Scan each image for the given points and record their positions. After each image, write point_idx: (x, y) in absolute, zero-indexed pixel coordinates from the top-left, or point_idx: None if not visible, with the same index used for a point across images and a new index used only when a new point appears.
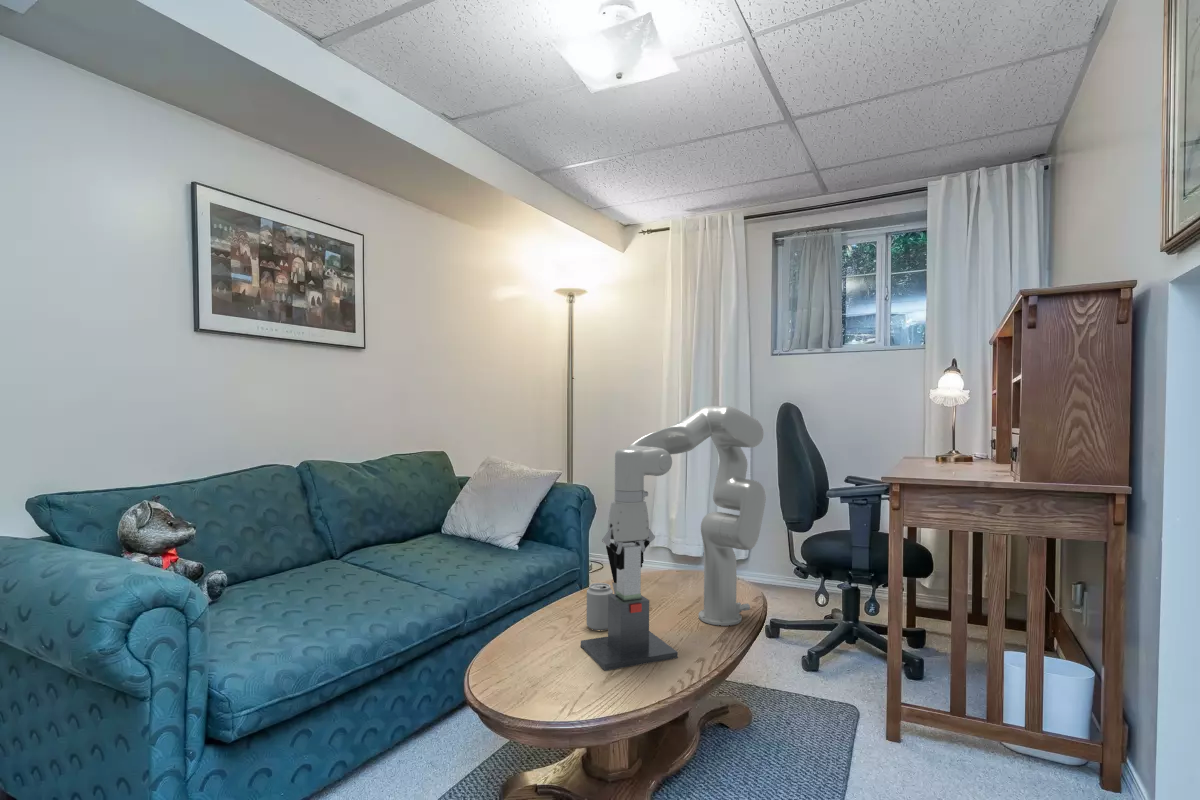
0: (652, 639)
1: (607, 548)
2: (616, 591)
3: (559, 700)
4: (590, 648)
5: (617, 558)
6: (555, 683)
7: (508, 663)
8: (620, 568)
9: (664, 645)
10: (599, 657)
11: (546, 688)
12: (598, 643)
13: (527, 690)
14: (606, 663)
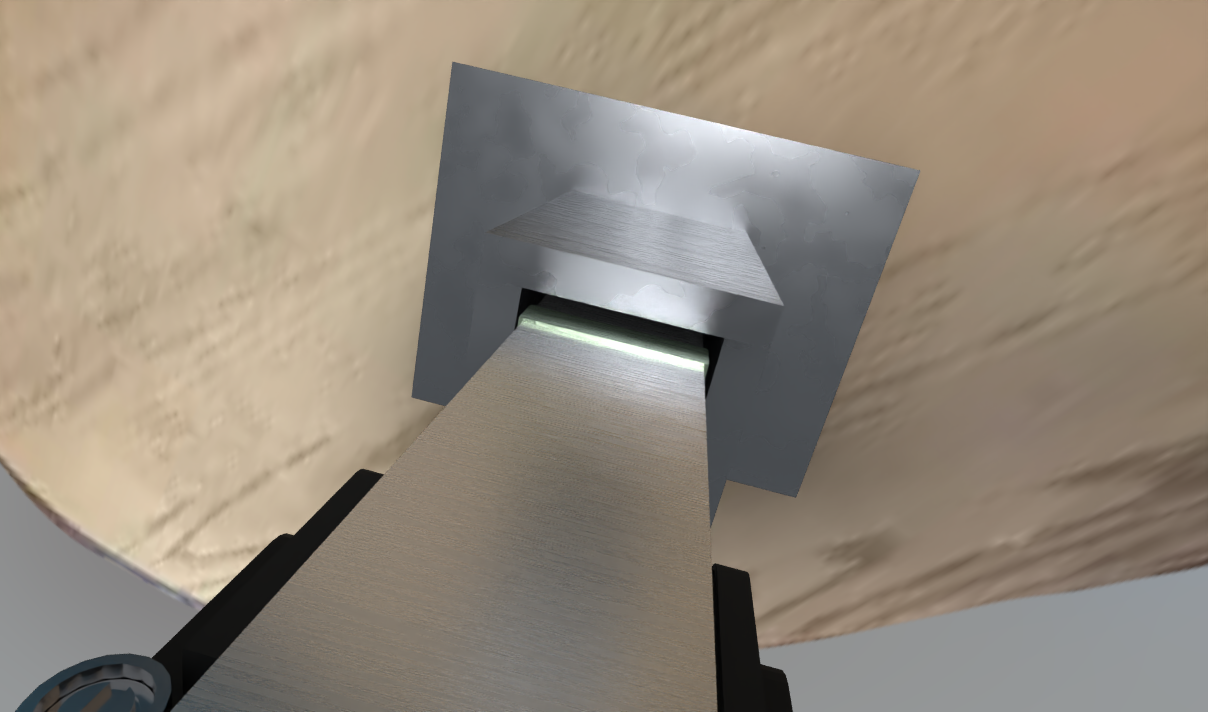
0: (819, 303)
1: None
2: (519, 322)
3: (170, 470)
4: (445, 200)
5: None
6: (196, 357)
7: (53, 45)
8: None
9: (806, 404)
10: (429, 321)
11: (152, 371)
12: (519, 165)
13: (83, 342)
14: (423, 393)
